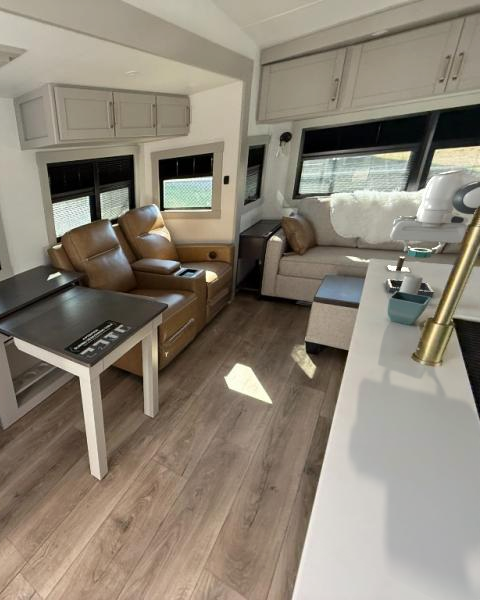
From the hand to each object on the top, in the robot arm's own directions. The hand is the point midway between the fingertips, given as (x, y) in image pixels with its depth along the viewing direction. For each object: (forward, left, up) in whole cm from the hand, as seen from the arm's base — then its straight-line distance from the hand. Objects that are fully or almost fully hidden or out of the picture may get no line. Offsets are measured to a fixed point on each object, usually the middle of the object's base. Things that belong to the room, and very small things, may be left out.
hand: (420, 252), depth 126 cm
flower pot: (+5, +34, -17) cm, 38 cm away
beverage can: (+3, +19, -17) cm, 26 cm away
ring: (0, 0, -2) cm, 2 cm away
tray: (0, 0, -17) cm, 17 cm away
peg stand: (0, -30, -17) cm, 34 cm away
